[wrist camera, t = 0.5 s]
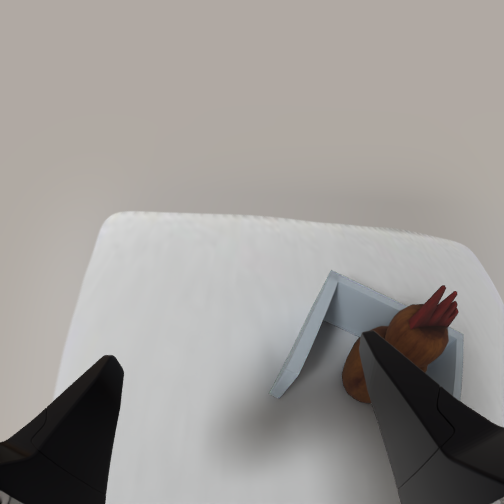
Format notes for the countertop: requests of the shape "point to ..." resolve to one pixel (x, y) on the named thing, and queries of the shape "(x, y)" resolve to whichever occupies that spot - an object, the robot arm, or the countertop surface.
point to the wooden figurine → (407, 339)
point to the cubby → (359, 320)
